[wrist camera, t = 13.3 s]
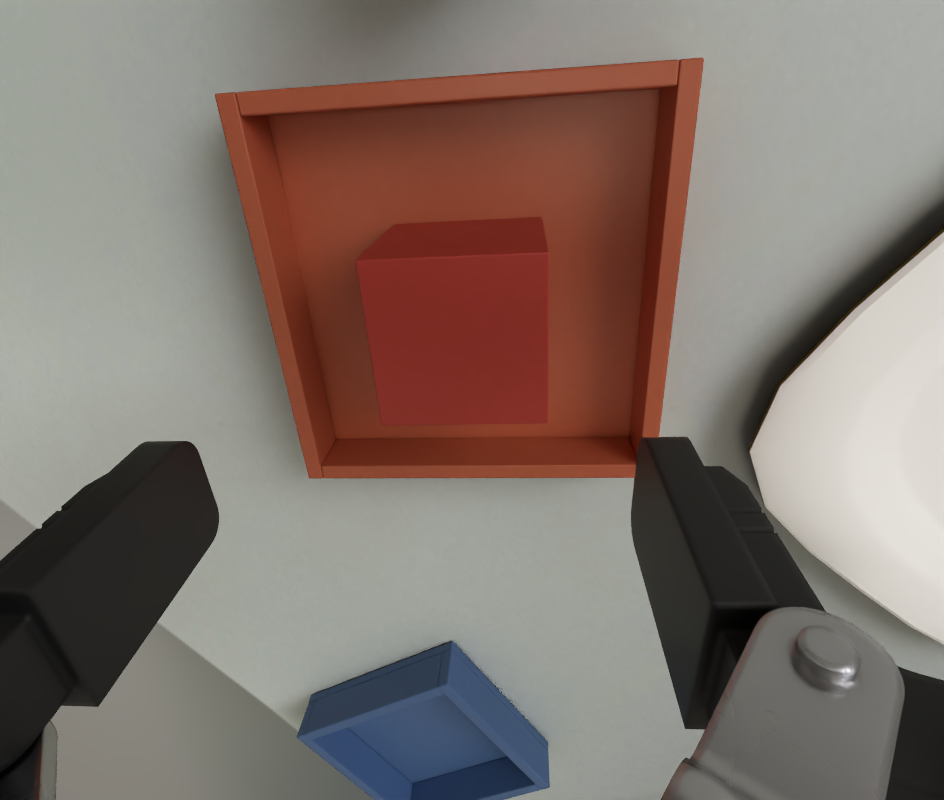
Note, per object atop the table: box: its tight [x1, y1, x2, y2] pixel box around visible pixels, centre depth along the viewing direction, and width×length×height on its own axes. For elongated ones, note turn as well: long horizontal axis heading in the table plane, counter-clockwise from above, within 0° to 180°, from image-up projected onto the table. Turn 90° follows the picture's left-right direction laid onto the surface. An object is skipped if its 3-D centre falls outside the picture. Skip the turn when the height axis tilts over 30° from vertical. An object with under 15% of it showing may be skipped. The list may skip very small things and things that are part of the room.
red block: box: [355, 217, 549, 426], centre depth 17 cm, size 5×5×5 cm
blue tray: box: [297, 642, 550, 800], centre depth 31 cm, size 10×10×2 cm
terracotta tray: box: [215, 58, 704, 478], centre depth 19 cm, size 13×13×2 cm
